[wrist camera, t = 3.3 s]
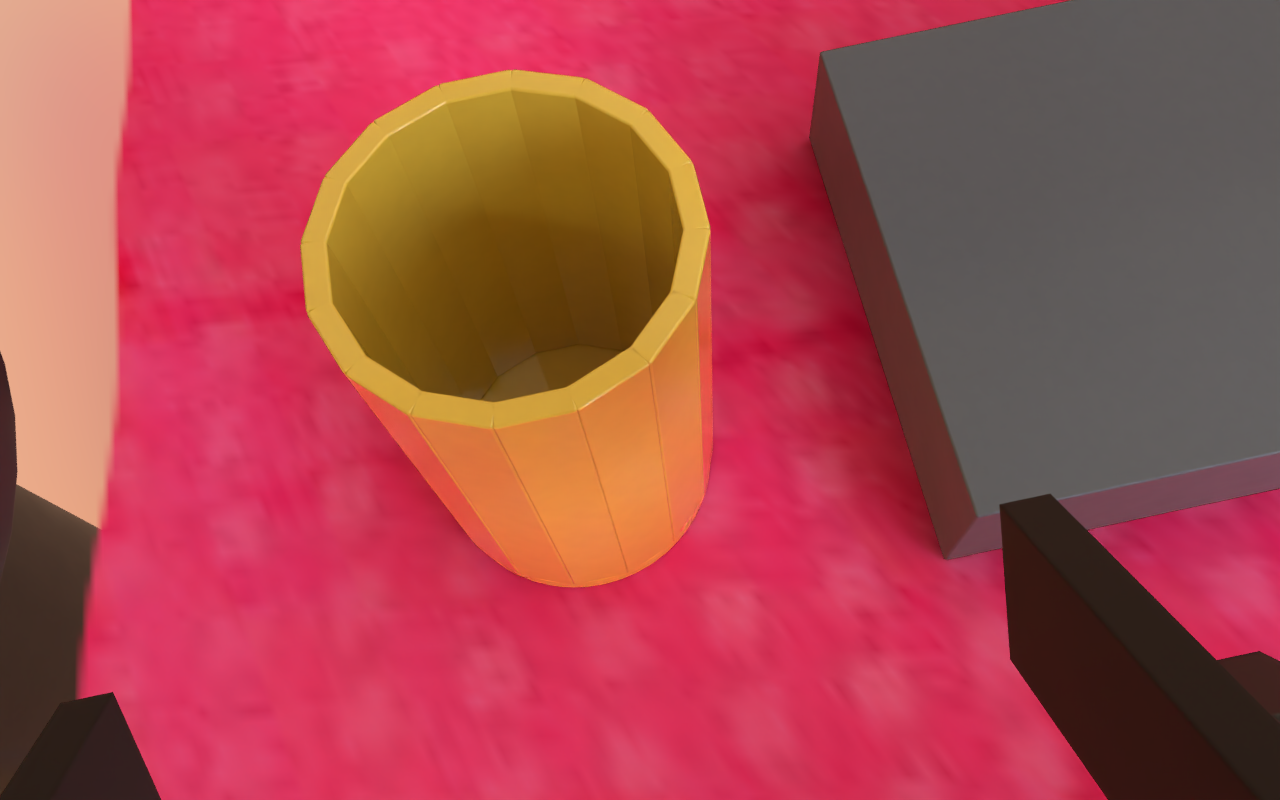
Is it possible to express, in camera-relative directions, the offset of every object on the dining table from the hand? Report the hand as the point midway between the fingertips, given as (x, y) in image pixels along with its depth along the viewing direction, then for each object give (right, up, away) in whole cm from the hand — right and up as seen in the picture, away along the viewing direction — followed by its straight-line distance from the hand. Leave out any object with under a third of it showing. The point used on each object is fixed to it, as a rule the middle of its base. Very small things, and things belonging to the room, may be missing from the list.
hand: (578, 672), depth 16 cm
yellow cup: (-1, +2, +15) cm, 15 cm away
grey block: (+14, +8, +16) cm, 23 cm away
